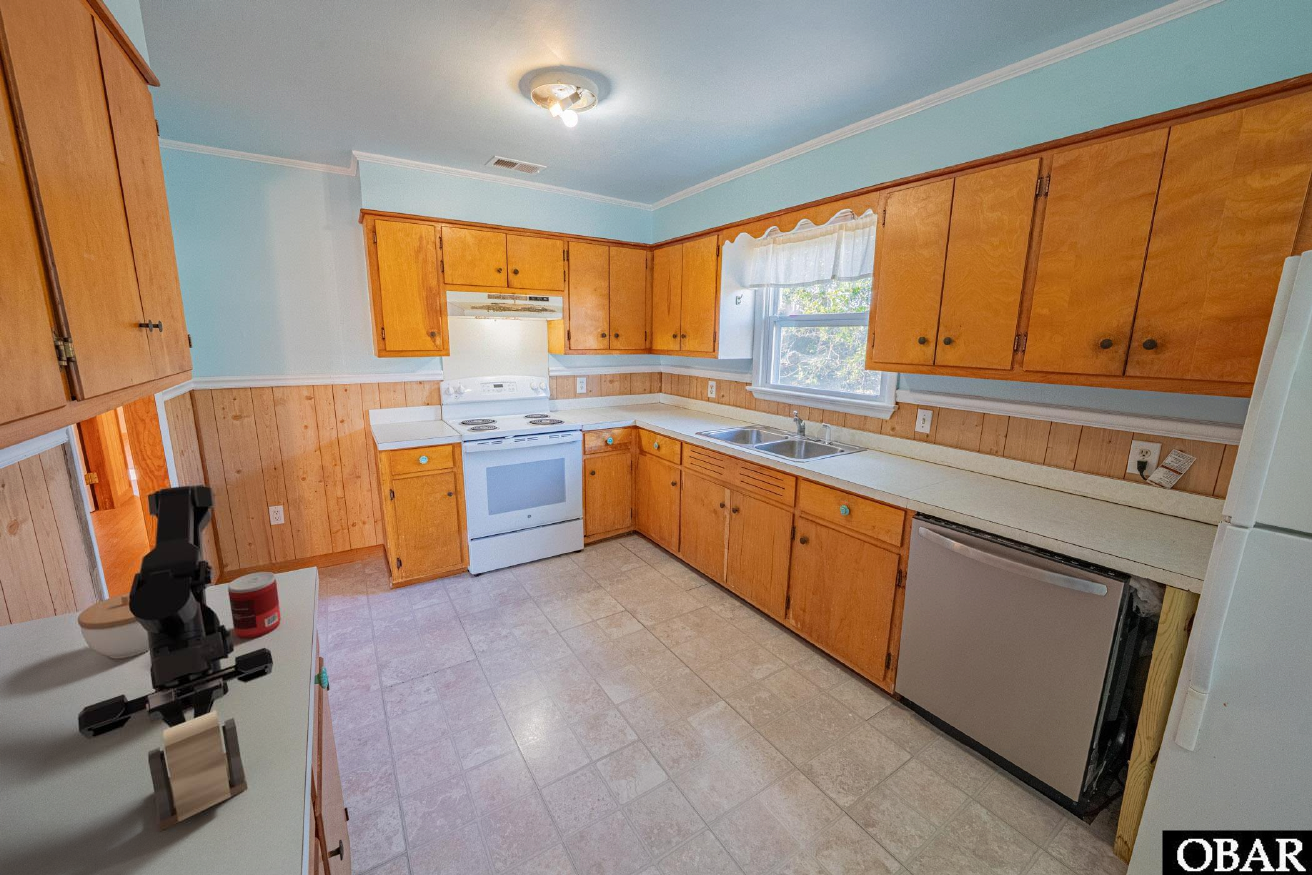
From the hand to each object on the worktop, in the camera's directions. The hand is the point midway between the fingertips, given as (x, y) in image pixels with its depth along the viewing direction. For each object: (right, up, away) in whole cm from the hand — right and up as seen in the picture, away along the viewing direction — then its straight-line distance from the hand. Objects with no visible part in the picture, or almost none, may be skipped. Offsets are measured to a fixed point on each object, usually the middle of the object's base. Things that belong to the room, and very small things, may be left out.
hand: (195, 753), depth 65 cm
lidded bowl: (-42, 0, +32) cm, 53 cm away
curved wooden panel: (+1, -6, 0) cm, 6 cm away
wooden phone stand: (-2, -7, +3) cm, 8 cm away
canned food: (-23, +1, +39) cm, 46 cm away
